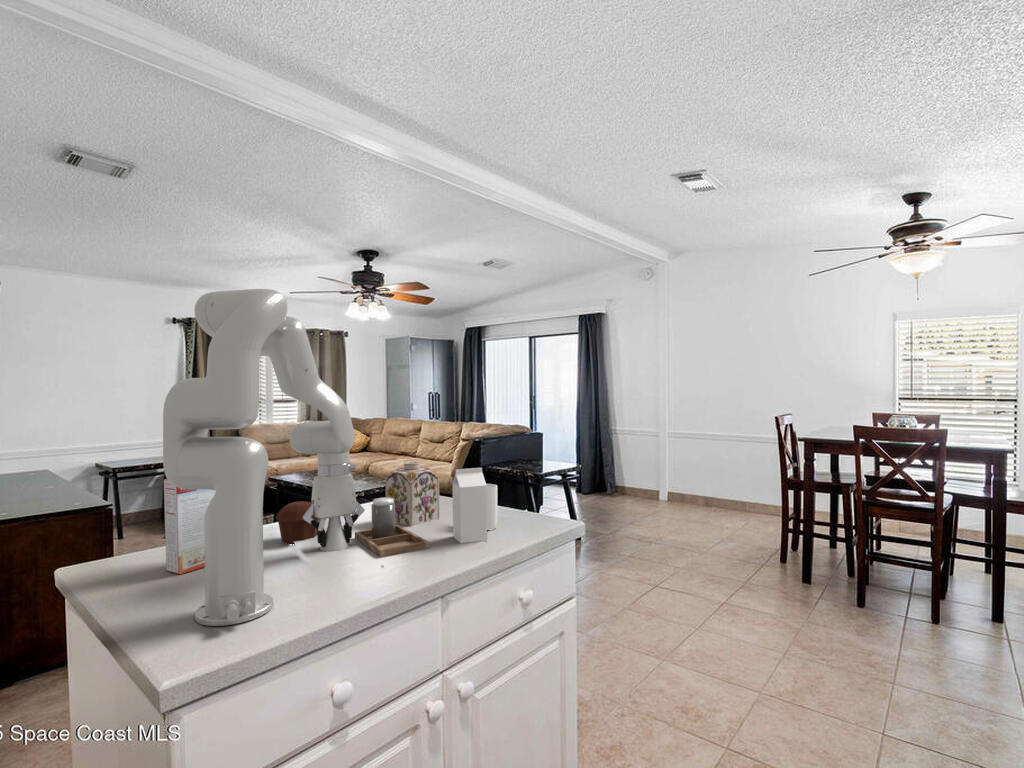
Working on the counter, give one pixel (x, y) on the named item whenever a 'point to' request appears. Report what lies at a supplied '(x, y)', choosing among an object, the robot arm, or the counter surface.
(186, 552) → the cracker box
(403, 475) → the decorative jar
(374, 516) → the pepper shaker
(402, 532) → the caddy
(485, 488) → the milk carton
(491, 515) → the mug
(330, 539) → the flask
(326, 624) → the counter surface
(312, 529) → the muffin
